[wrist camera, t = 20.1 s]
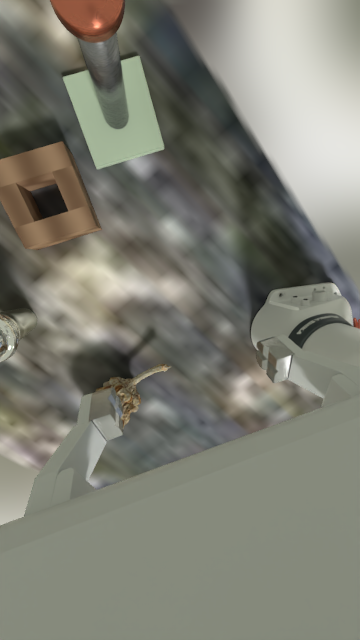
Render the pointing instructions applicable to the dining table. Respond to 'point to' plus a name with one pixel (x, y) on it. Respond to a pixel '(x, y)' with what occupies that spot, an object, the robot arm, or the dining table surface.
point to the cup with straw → (14, 329)
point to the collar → (37, 172)
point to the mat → (104, 139)
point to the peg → (99, 50)
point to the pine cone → (130, 390)
